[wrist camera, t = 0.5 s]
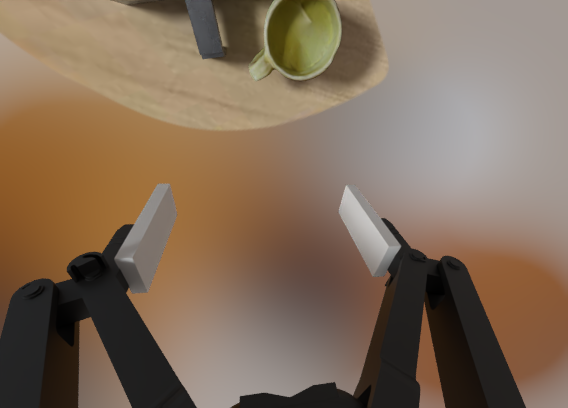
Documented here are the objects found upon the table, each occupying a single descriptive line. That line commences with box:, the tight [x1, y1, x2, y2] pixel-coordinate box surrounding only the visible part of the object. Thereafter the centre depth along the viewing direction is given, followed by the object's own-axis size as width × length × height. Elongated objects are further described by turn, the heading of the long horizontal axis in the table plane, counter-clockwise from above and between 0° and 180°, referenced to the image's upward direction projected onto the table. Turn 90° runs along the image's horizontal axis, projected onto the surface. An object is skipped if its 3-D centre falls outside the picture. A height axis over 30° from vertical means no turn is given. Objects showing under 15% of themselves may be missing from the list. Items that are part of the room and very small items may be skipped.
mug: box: [249, 0, 342, 81], centre depth 29 cm, size 12×10×10 cm
